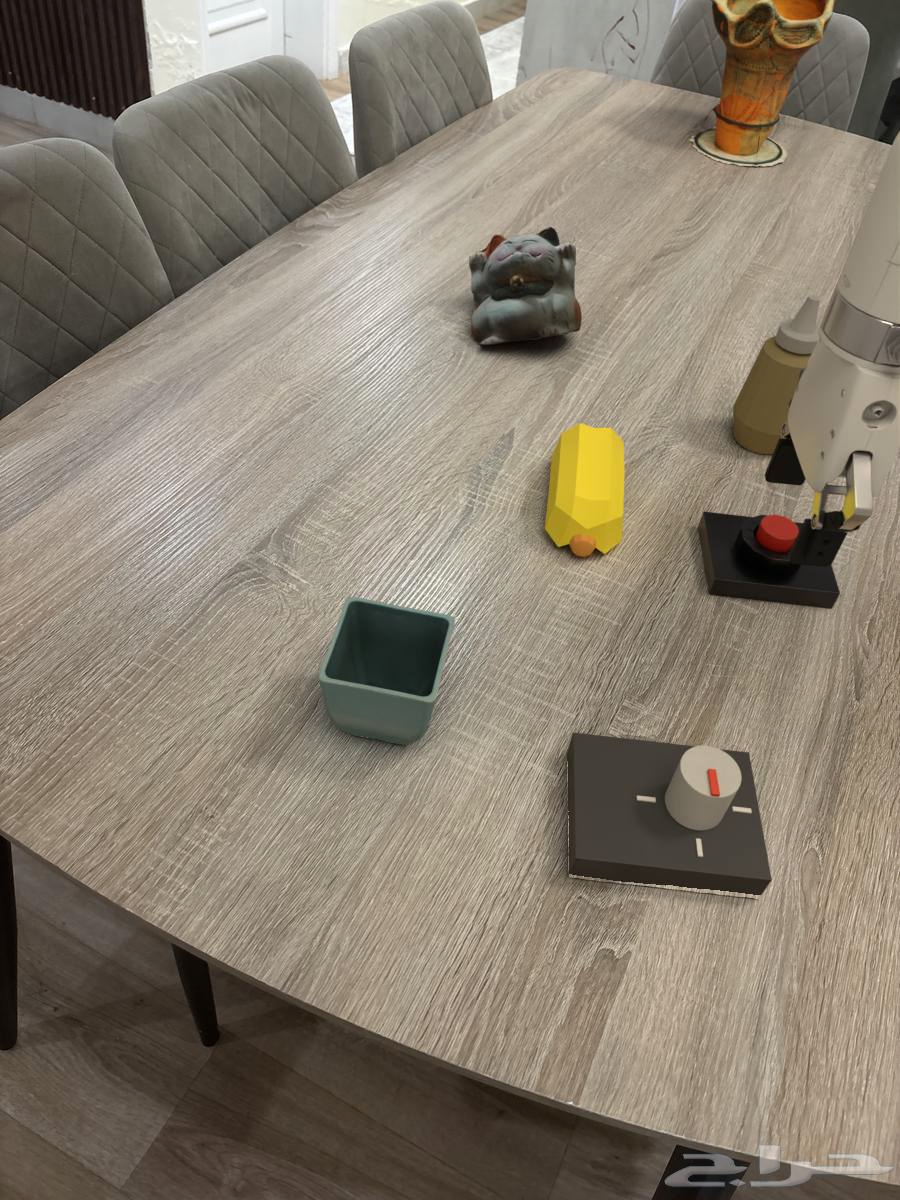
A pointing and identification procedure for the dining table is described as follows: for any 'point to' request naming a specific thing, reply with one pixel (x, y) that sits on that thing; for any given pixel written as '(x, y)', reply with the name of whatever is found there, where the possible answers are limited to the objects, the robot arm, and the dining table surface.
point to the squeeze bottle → (775, 381)
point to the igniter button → (777, 533)
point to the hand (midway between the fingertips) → (795, 520)
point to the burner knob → (702, 787)
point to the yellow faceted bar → (586, 490)
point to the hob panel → (656, 820)
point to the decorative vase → (758, 74)
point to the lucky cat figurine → (524, 288)
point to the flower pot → (384, 669)
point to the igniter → (758, 566)
